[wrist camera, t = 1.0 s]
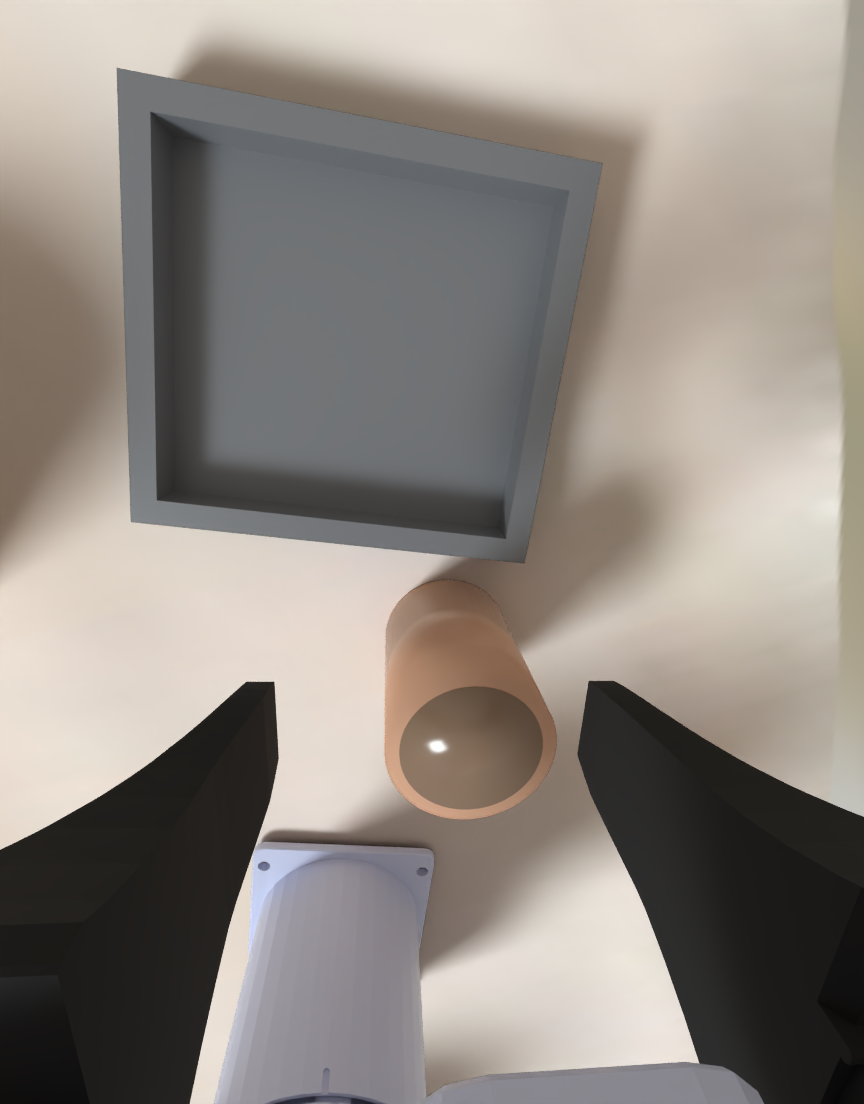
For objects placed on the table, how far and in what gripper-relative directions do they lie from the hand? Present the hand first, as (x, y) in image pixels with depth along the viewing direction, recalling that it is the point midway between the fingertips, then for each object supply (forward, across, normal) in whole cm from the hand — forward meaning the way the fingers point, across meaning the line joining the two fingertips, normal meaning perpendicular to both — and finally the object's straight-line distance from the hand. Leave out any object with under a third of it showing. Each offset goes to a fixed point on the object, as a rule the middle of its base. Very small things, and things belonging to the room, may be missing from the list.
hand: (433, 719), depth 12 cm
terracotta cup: (+9, -1, +2) cm, 9 cm away
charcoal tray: (+9, +2, -8) cm, 12 cm away
